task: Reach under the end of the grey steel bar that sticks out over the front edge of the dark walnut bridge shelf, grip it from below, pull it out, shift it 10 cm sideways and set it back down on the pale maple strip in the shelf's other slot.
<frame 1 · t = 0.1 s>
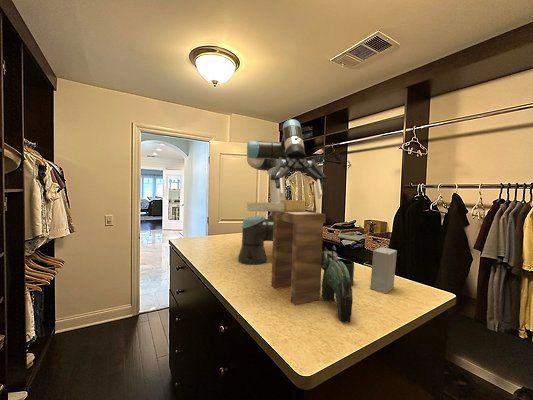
hand: (301, 196, 87), 36 cm above the worktop, tool tilted 35°, fingers open, 13 cm apart
skincare box: (382, 289, 100), on the worktop
mug: (339, 283, 105), on the worktop
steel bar: (276, 210, 94), point 30 cm above the worktop, touching walnut shelf
dark green curved figure: (335, 308, 82), on the worktop
walnut shelf: (294, 293, 93), on the worktop
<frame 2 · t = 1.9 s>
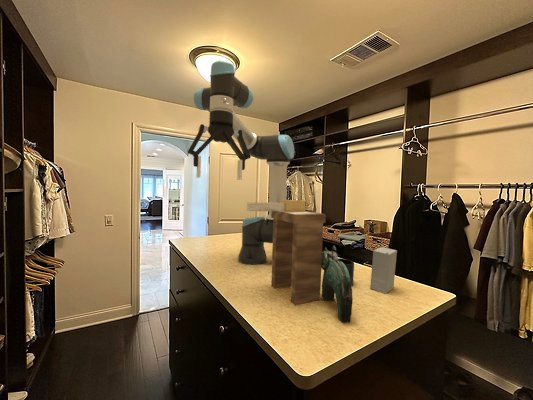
hand: (219, 178, 82), 41 cm above the worktop, tool pointing down, fingers open, 13 cm apart
nothing on the worktop moved.
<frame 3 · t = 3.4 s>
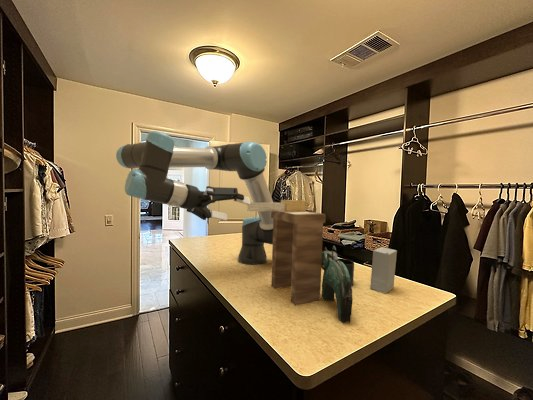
hand: (237, 209, 91), 30 cm above the worktop, tool horizontal, fingers open, 13 cm apart
nothing on the worktop moved.
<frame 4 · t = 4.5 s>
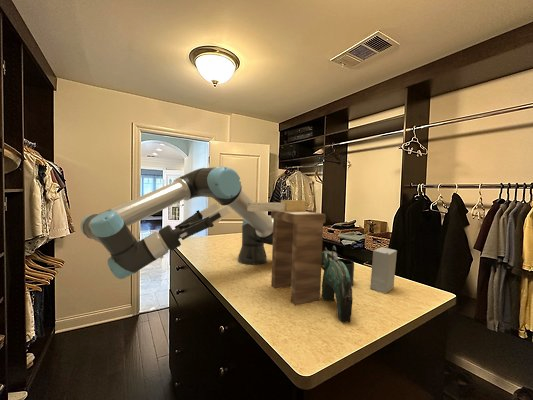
hand: (223, 207, 86), 31 cm above the worktop, tool pointing upward, fingers open, 13 cm apart
nothing on the worktop moved.
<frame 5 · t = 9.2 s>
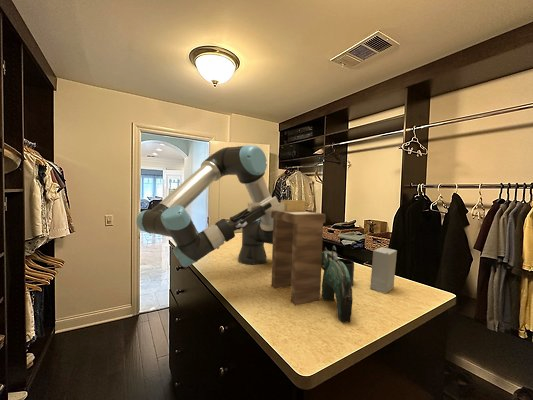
hand: (274, 199, 94), 34 cm above the worktop, tool pointing upward, fingers closed on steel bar, 3 cm apart
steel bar: (276, 210, 94), point 30 cm above the worktop, touching gripper, walnut shelf
everything else where it was.
when the fingers open (35 cm above the worktop, at t = 18.1 s): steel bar stays where it is, resting on walnut shelf.
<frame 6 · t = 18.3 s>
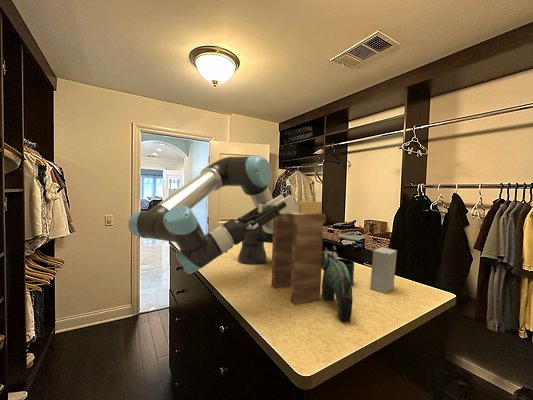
hand: (287, 198, 85), 35 cm above the worktop, tool pointing upward, fingers open, 5 cm apart
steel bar: (289, 213, 85), point 30 cm above the worktop, touching walnut shelf
everything else where it was.
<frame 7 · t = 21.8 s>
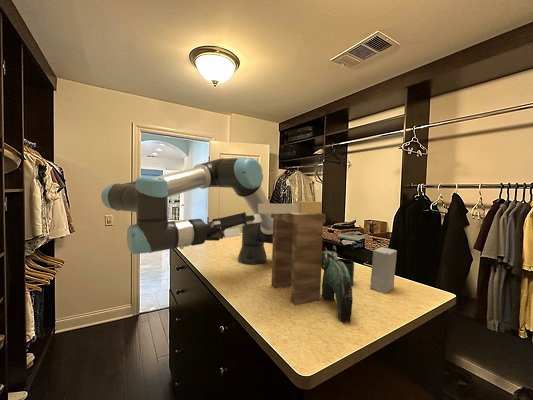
hand: (249, 225, 86), 26 cm above the worktop, tool horizontal, fingers open, 13 cm apart
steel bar: (289, 213, 85), point 30 cm above the worktop, touching gripper, walnut shelf
everything else where it was.
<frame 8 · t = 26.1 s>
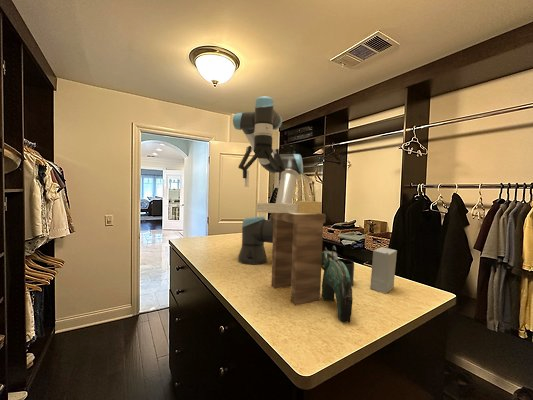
hand: (261, 187, 106), 39 cm above the worktop, tool pointing down, fingers open, 13 cm apart
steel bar: (288, 212, 87), point 30 cm above the worktop, touching walnut shelf
everything else where it was.
at the end: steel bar 2.4 cm from the target spot, point 30.1 cm above the worktop; the gripper is holding nothing; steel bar tilted 0° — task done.
